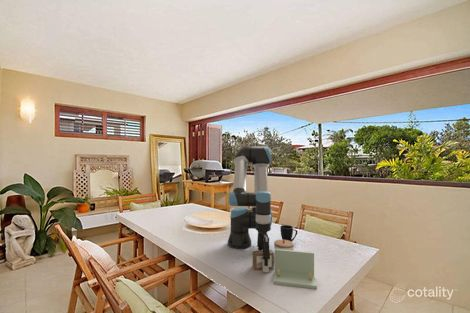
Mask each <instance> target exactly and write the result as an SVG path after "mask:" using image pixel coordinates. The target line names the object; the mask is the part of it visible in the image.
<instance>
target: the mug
mask: <svg viewBox="0 0 470 313" xmlns="http://www.w3.org/2000/svg"><path fill="white" fill-rule="evenodd" d="M279 228H280V236H281V240H289V241H291V242H293V241H294V240H295V238H297V237H296V236H297V234H298V230H297V229H294V227H293V225H288V224H284V225H283V224H282V225H280V227H279ZM294 231H295V234H294ZM293 235H294V236H293Z"/></svg>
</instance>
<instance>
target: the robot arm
mask: <svg viewBox="0 0 470 313" xmlns="http://www.w3.org/2000/svg"><path fill="white" fill-rule="evenodd" d="M233 164H234V175H233V176H234V177H233V188H232V191H231V192H229V193H228V205H229V206H231V207H235V208H233V209H231V211H230V216H229V217H230V232H229V235H228V236H229V237H228V240H227V246H228V247H230V248H232V249H237V250H242V249H248V248H250V247H251V246H252V240H251V239H252V238H251V236H250V233H249V229H250V230H251V229H254V230H256V231H257V242H256V243H257V245H256V247H257V250H263V258H262V259H263V270H262V272H263V273H270V272H269V270H270V269H269V259H270V250H271V249H270V236H269V235H268V232H270V231H271V230H272V222H273V215H274V213H273V210H272V209H271V207H272V206H271V205H272V202H271V201H272V197H271V196H272V195H271V191H268V168H269V167H270V164H272V153H271V148H270V146H268V145H267V146H266V145H260V146H259V145H255V146H253V145H251V146H249V145H247V146H244V147H241V148H240V149H238V151H237V152H236V153H235V155H234V158H233ZM249 164H251V166H252V167H253V170H254V171H253V173H254V174H253V178H254V180H253V182H254V185H253V186H254V192H247V170H248V169H247V168H248V165H249ZM249 207H251V209H250V208H249Z"/></svg>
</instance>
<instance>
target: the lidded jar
mask: <svg viewBox="0 0 470 313" xmlns="http://www.w3.org/2000/svg"><path fill="white" fill-rule="evenodd" d="M273 244H274V250H275V249H281V250H293V251H294V242H293V241H292V242H291V241H289V240H282V239H277V240H276V239H275V240H274V242H273Z"/></svg>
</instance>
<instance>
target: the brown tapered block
mask: <svg viewBox="0 0 470 313" xmlns="http://www.w3.org/2000/svg"><path fill="white" fill-rule="evenodd" d="M269 250H270V259H269V270H275V251H273V250H272V249H269ZM262 258H263V250H258V249H257V250H252V268H253V270H254V271H260V270H261V271H263V259H262Z"/></svg>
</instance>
